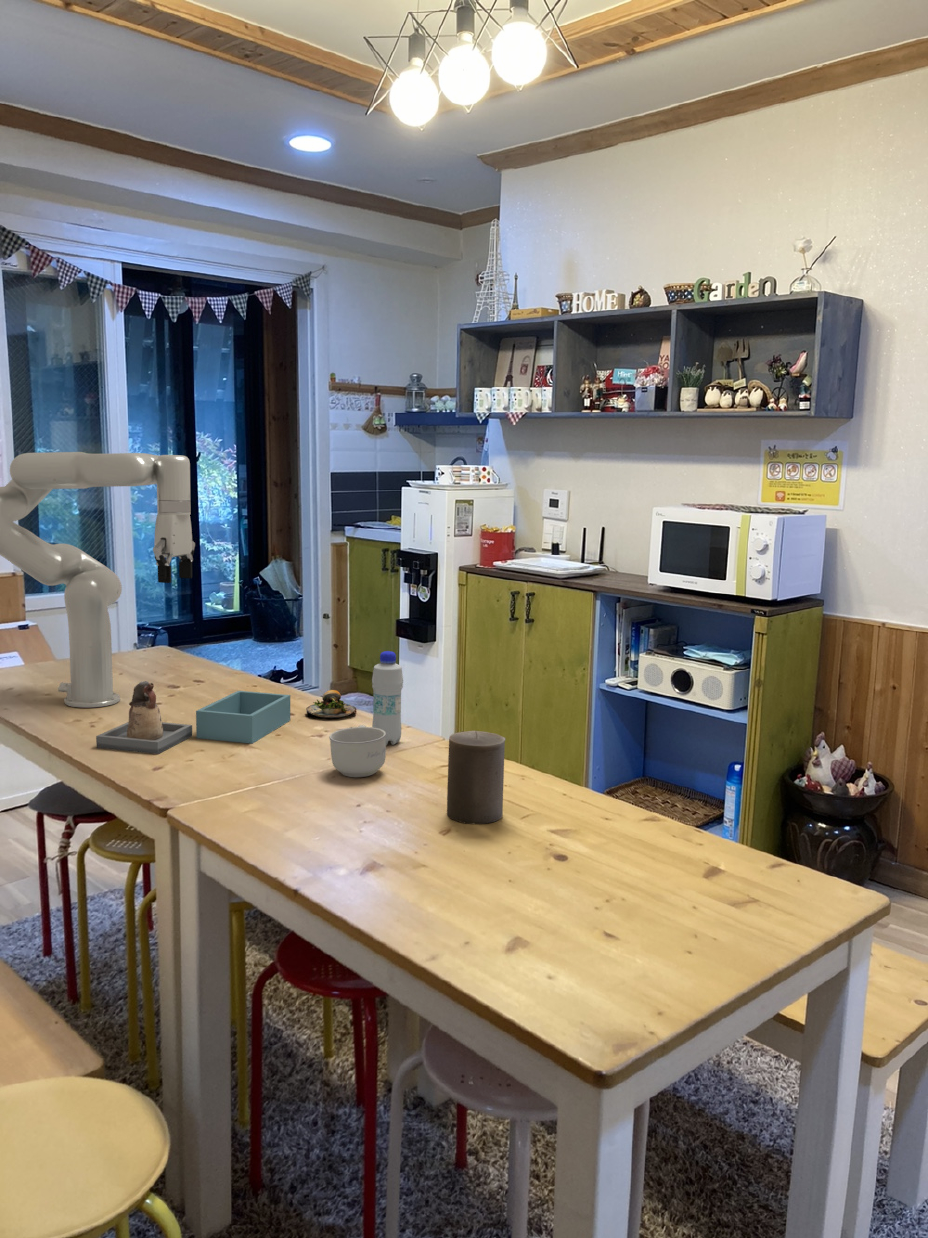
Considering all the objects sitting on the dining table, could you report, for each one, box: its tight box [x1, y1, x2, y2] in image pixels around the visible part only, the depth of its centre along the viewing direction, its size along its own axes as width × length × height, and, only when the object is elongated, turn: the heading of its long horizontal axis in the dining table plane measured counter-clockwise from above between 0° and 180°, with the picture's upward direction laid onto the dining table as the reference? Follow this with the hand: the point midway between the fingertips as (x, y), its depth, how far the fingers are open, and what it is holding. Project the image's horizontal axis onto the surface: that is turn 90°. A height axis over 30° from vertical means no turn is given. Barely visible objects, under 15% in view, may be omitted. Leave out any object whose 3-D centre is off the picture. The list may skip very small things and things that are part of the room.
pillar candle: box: [446, 730, 506, 825], centre depth 171 cm, size 10×10×15 cm
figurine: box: [127, 680, 163, 740], centre depth 208 cm, size 7×7×12 cm
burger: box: [305, 685, 357, 719], centre depth 235 cm, size 12×12×8 cm
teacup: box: [328, 724, 387, 778], centre depth 194 cm, size 14×11×8 cm
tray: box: [95, 721, 193, 755], centre depth 209 cm, size 14×14×2 cm
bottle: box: [371, 650, 404, 746], centre depth 212 cm, size 7×7×20 cm
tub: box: [195, 690, 291, 744], centre depth 221 cm, size 13×20×6 cm, turn 166°
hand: (175, 580), depth 236 cm, fingers open, 9 cm apart
